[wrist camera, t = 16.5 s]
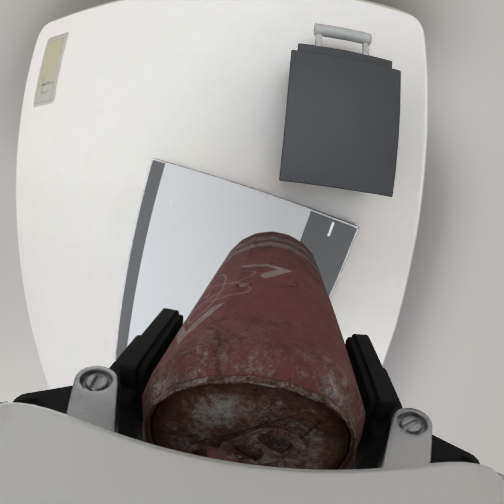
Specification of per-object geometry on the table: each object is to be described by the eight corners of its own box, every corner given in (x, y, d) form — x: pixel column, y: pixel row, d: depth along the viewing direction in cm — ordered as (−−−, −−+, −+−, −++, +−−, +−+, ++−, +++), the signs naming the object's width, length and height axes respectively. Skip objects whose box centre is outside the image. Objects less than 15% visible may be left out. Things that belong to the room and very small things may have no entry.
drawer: (297, 37, 28) (300, 11, 22) (373, 50, 28) (391, 29, 21) (286, 160, 32) (288, 156, 26) (366, 172, 32) (386, 172, 25)
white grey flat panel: (153, 158, 34) (149, 158, 33) (356, 225, 34) (358, 227, 33) (115, 364, 43) (112, 368, 42) (266, 418, 43) (265, 423, 41)
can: (216, 311, 21) (136, 485, 7) (233, 220, 19) (122, 334, 5) (303, 330, 20) (317, 519, 7) (328, 242, 19) (416, 392, 5)
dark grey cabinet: (289, 76, 31) (291, 49, 23) (375, 91, 30) (400, 70, 22) (279, 179, 34) (279, 180, 26) (367, 191, 33) (392, 197, 25)
